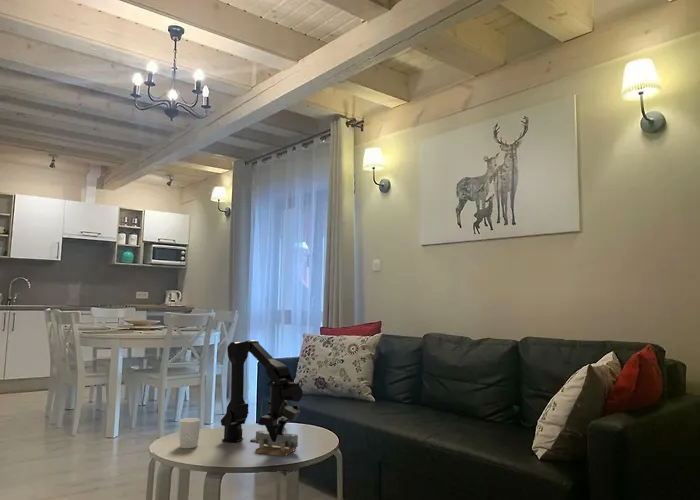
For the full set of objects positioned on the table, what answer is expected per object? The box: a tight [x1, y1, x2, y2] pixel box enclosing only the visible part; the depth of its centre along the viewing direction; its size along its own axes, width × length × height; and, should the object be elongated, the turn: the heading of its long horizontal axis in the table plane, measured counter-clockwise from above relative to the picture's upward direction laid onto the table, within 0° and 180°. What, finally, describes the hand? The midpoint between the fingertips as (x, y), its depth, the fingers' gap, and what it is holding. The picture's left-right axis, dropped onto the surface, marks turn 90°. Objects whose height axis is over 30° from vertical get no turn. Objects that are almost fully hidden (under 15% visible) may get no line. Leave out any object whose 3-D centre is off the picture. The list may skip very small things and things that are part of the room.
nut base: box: [250, 436, 256, 443], centre depth 217 cm, size 11×11×1 cm
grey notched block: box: [255, 430, 299, 449], centre depth 201 cm, size 18×4×4 cm, turn 69°
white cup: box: [178, 417, 201, 449], centre depth 205 cm, size 8×8×10 cm
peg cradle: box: [255, 440, 297, 457], centre depth 200 cm, size 12×10×4 cm
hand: (276, 440), depth 201 cm, fingers closed on grey notched block, 3 cm apart
